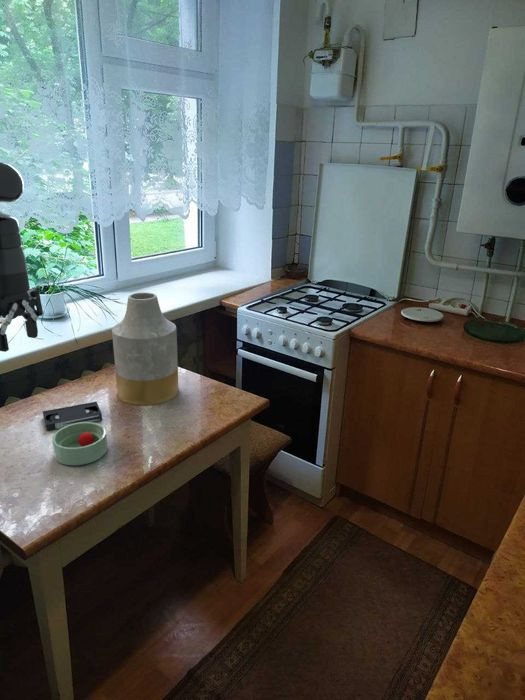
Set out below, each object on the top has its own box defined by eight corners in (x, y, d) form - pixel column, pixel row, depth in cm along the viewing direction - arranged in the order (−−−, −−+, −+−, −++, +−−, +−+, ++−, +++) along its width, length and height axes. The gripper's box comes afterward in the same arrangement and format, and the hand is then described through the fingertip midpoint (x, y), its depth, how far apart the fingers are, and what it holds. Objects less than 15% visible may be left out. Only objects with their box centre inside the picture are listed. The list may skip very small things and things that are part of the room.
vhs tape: (46, 431, 129) (45, 424, 129) (43, 417, 136) (42, 411, 135) (102, 420, 136) (101, 413, 135) (97, 407, 142) (96, 401, 141)
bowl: (88, 471, 114) (86, 453, 112) (43, 461, 117) (40, 443, 115) (117, 444, 125) (115, 426, 123) (75, 435, 128) (73, 418, 126)
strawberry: (88, 438, 120) (98, 431, 123) (75, 434, 120) (85, 428, 124) (87, 451, 121) (97, 444, 124) (75, 447, 121) (85, 441, 125)
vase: (104, 395, 149) (94, 298, 138) (145, 374, 164) (140, 284, 153) (151, 411, 141) (145, 309, 130) (190, 387, 156) (188, 293, 145)
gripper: (16, 260, 107) (27, 331, 113) (-38, 274, 94) (-23, 353, 100) (46, 263, 105) (55, 335, 111) (-6, 278, 92) (8, 358, 98)
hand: (18, 343), depth 105 cm, fingers open, 8 cm apart
